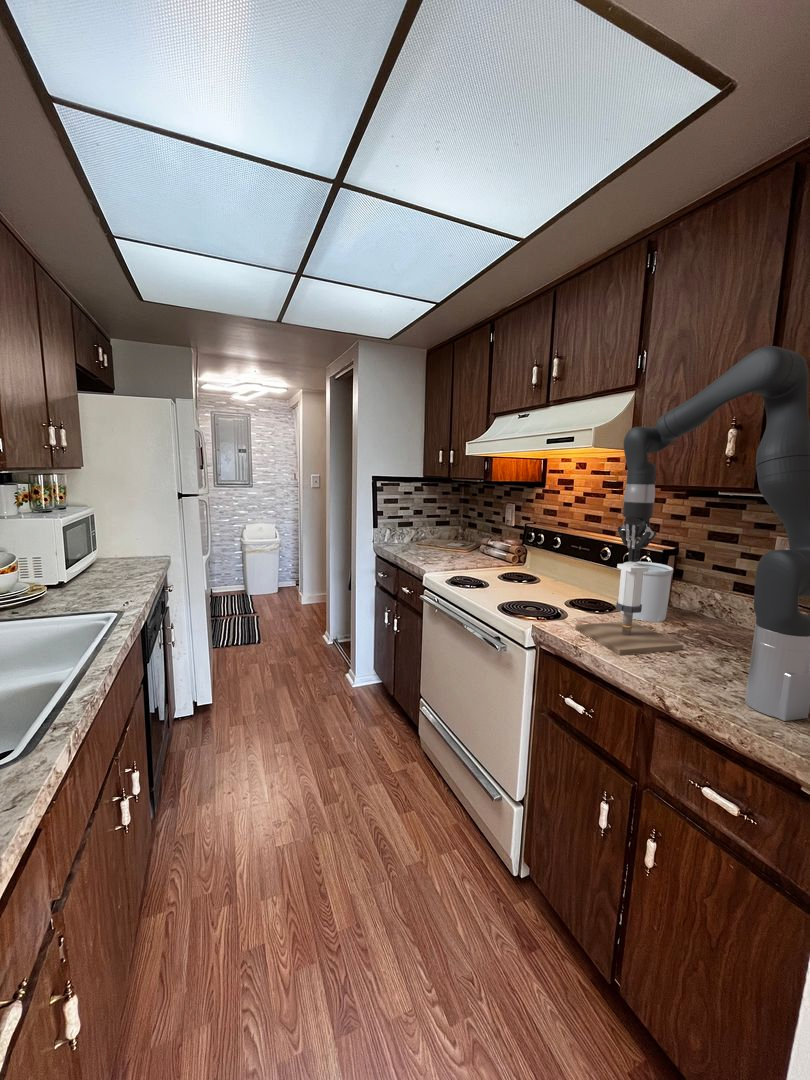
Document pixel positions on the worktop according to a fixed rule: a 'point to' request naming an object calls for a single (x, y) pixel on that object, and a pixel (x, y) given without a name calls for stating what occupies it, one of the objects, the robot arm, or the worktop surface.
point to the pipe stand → (628, 637)
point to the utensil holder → (654, 592)
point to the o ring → (628, 608)
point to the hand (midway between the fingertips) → (633, 561)
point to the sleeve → (631, 584)
